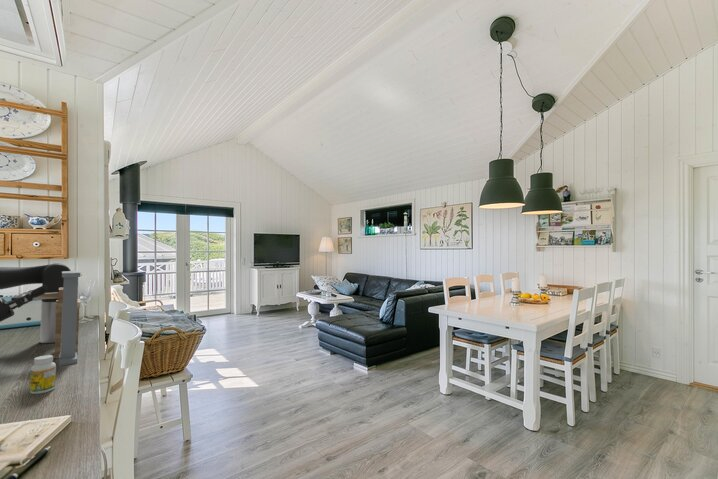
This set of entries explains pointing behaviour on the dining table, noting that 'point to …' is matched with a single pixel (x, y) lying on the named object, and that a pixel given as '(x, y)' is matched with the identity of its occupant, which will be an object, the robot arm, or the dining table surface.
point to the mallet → (52, 296)
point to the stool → (59, 326)
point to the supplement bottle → (43, 375)
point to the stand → (69, 318)
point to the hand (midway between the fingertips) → (46, 288)
